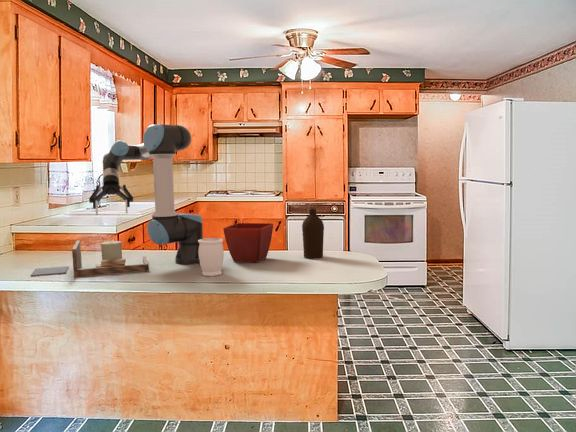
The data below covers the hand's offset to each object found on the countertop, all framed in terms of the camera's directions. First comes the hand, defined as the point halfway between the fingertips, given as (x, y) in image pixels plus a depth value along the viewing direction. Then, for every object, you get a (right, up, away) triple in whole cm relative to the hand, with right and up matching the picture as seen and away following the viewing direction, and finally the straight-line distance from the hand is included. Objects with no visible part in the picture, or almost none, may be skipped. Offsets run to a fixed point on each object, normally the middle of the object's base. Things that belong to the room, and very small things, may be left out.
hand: (111, 212), depth 247 cm
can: (+3, -26, -7) cm, 27 cm away
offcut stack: (+6, -27, -16) cm, 32 cm away
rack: (+4, -26, -10) cm, 28 cm away
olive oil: (+97, -22, +7) cm, 100 cm away
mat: (-22, -27, -15) cm, 38 cm away
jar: (+52, -27, -26) cm, 64 cm away
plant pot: (+66, -23, +3) cm, 70 cm away
